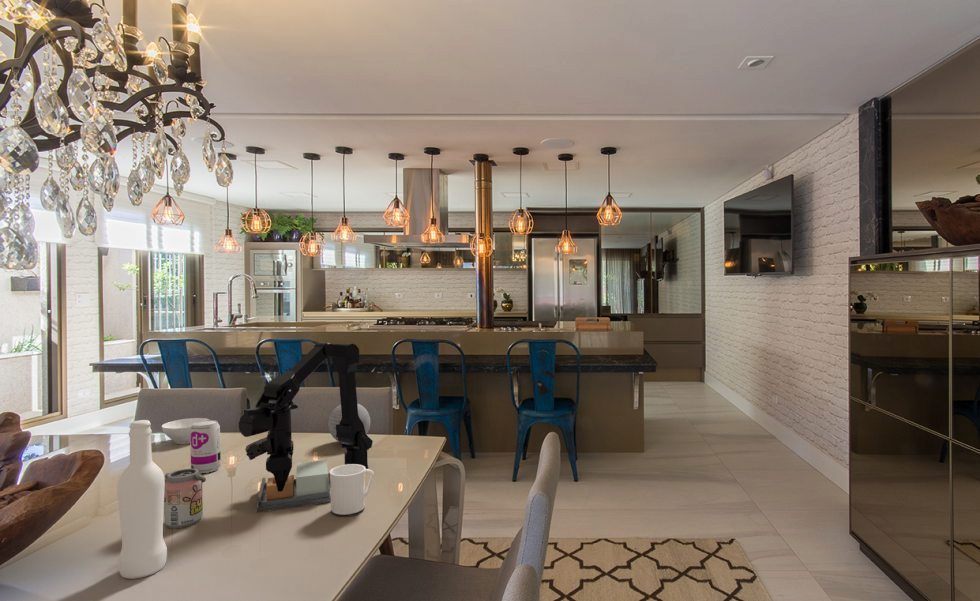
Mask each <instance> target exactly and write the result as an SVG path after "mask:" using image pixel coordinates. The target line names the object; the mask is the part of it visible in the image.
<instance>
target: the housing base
mask: <svg viewBox="0 0 980 601" xmlns="http://www.w3.org/2000/svg"><path fill="white" fill-rule="evenodd" d="M266 486H267V480H266V477H262V478H261V483H260V487H259V491H258V494H257V503H256V513H263V511H264V512H269V510H271V511H277V510H276V509H278V510H283V509H285V510H286V509H290V508H291V509H292V508H298V507H306V506H311V505H319V504H327V503H332V502H331V485H330V477H328V492H325V493H318V494H310V495H303V496H297V490H296V478H294V496H290V497H282V498H275V499H267V490H266Z"/></svg>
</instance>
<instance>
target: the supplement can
mask: <svg viewBox="0 0 980 601" xmlns="http://www.w3.org/2000/svg"><path fill="white" fill-rule="evenodd" d="M189 444H190V445H189V446H190V469H197V470H198V471H199V473H200V474H201V475H203V474H202V473H206V474H210V473H209V472H211V473H214V472H216V471H218V470H219V469H218V468H221V465H222V464H221V462H222V461H221V459H222V458H221V426H220V424H219V423H218V420H214V419H213V420H211V419H209V420H207V421H200V422H196V423H193V424H192V427H191V429H190V443H189ZM217 469H218V470H217ZM213 471H214V472H213Z"/></svg>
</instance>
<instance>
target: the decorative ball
mask: <svg viewBox="0 0 980 601" xmlns="http://www.w3.org/2000/svg"><path fill="white" fill-rule="evenodd" d="M357 405H358V416H359V418H360V419H361V421H362V422H363V424H364V427H365V432H366V435H367V434H368V432H369V430H370V428H371V427H370V426H371V416H370V414H369V411H368V410H367V409H366V407H364V406H363V405H362V404H360V403H358V402H357ZM341 419H342V411H341V404H339V405H337V406H336V407H335V408H333V410H332V411H331V413H330V414H329V418H328V424H327V425H328V426H327V427H328V430H329V433H330V435H331V437H332V438H333V439H334V440H336V441H337V442H339V441H338V437H336V424H339V423H340V421H341Z"/></svg>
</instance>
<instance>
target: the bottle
mask: <svg viewBox="0 0 980 601" xmlns="http://www.w3.org/2000/svg"><path fill="white" fill-rule="evenodd" d="M151 425H152V424H151V421H150V420H148V419H140V420H135V421H132V422H131V423H130V424H129V429H130V430H129V432H128V437H129V464H128V466H127V467H126V468H125V469H124V470H123V472H122V473H121V474H120V476H119V479H118V482H117V486H116V487H117V490H116V492H117V501H118V511H119V512H118V513H119V522H120V524H119V525H120V530H121V531H120V533H121V551H120V552H119V555H118V556H119V557H118V560H117V561H118V570H119V574H120V576H121V577H122V578H124V579H129V580H131V579H132V580H133V579H134V580H135V579H142V578H145V577H149V576H151V575H154V574H156V573H157V572H159V571H160V570H162V569H163V568H164V566H165V564H166V562H167V558H168V548H167V544H166V542H165V540H164V536H163V535H164V534H163V532H164V531H163V527H164V488H165V483H166V482H165V480H166V478H165V474H164V472H163V470H162V468H160V467H159V466H158V464H156V463H155V462H154V461H153V452H152V437H151V436H152V429H151Z"/></svg>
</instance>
